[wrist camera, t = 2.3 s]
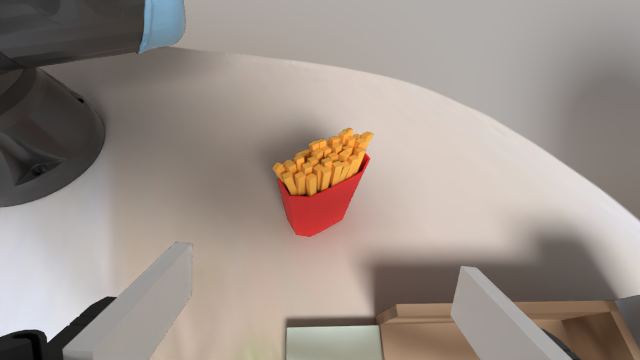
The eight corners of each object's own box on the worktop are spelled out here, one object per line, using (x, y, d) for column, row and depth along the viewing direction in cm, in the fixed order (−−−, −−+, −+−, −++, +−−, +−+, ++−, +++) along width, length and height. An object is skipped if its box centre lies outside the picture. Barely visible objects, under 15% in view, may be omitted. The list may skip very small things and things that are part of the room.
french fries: (338, 185, 35) (358, 110, 25) (357, 212, 33) (387, 143, 23) (272, 218, 32) (264, 148, 22) (289, 249, 30) (289, 189, 20)
